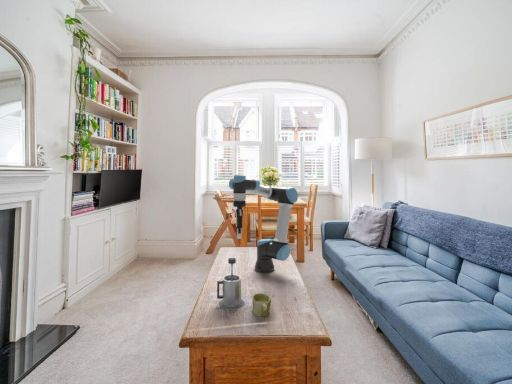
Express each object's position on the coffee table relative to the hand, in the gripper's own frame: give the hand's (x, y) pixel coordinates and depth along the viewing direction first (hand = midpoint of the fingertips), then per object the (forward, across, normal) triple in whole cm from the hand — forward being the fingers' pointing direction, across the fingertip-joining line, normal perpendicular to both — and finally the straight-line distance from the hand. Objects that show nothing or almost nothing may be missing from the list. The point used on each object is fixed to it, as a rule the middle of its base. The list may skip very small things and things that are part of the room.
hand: (239, 238), depth 154 cm
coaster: (+32, +17, -6) cm, 37 cm away
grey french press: (+32, +17, -7) cm, 37 cm away
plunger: (+21, +17, -6) cm, 27 cm away
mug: (+33, +30, +8) cm, 45 cm away
